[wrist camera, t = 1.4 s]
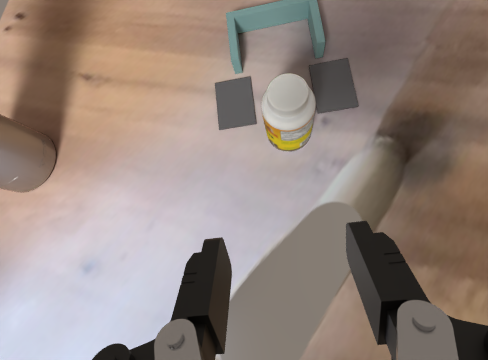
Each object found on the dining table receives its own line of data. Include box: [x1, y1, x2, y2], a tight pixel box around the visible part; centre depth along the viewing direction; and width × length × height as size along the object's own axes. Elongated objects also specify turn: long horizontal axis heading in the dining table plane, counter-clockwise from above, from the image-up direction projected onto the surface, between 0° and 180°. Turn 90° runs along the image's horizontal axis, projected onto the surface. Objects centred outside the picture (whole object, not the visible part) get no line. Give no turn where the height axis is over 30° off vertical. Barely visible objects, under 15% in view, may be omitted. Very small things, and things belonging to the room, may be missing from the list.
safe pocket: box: [226, 0, 325, 74], centre depth 38 cm, size 12×8×3 cm, turn 96°
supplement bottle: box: [261, 73, 316, 152], centre depth 32 cm, size 6×6×10 cm
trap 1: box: [309, 58, 358, 113], centre depth 37 cm, size 5×7×1 cm
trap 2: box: [215, 77, 256, 130], centre depth 39 cm, size 5×7×1 cm
